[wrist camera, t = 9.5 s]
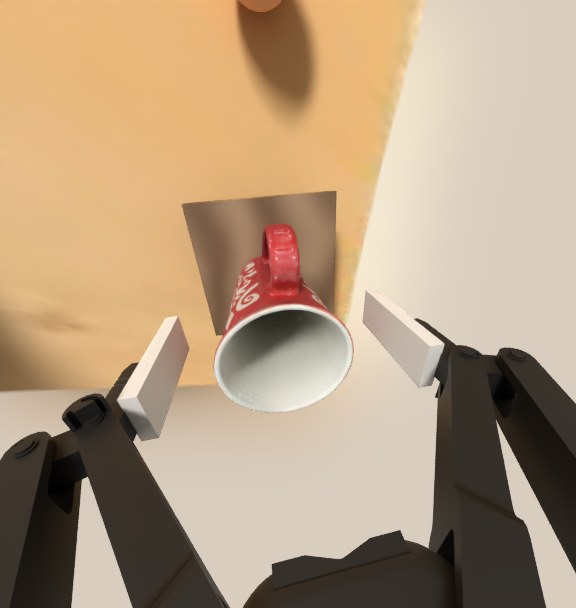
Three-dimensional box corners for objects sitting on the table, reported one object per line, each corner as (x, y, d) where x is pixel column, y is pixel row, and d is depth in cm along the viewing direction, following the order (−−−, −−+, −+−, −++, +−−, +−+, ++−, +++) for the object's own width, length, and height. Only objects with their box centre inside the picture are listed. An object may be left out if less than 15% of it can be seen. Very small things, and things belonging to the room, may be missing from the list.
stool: (222, 307, 35) (216, 335, 28) (197, 200, 28) (181, 204, 22) (318, 294, 37) (333, 318, 30) (316, 189, 30) (336, 191, 23)
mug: (304, 319, 29) (341, 409, 17) (231, 320, 28) (218, 420, 16) (316, 213, 24) (383, 240, 12) (225, 208, 22) (198, 233, 10)
